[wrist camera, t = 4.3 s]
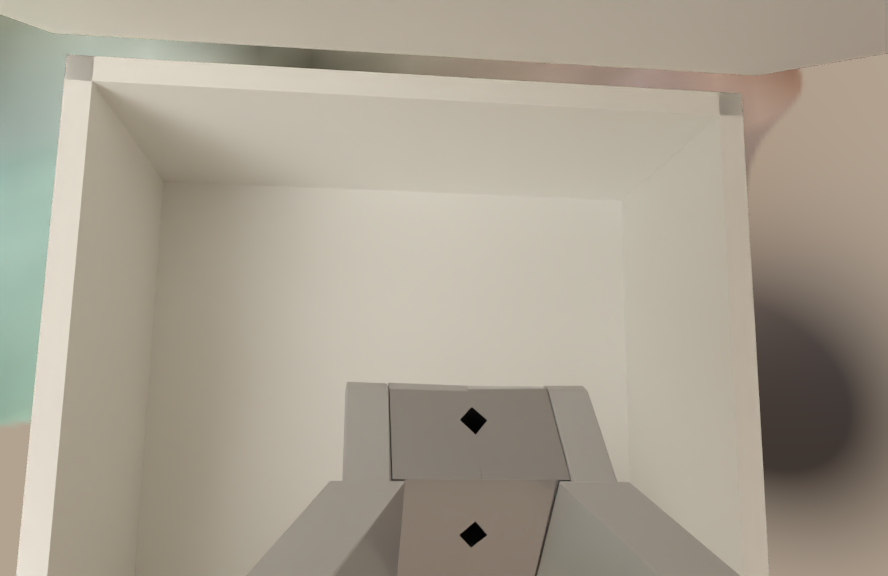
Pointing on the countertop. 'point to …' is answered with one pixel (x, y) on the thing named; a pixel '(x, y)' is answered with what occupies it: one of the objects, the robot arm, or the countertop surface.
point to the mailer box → (375, 294)
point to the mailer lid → (504, 28)
